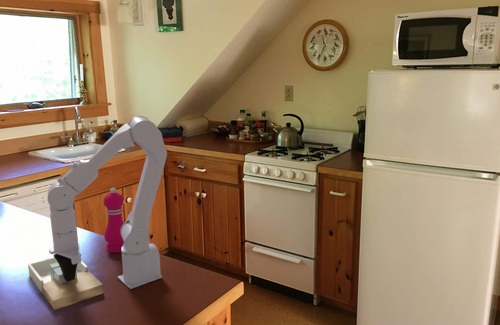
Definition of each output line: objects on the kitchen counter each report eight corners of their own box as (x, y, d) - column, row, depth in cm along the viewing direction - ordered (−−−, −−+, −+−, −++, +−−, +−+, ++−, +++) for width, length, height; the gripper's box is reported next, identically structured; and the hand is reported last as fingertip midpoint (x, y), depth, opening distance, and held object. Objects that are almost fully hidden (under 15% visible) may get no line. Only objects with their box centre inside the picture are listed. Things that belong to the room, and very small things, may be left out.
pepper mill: (120, 241, 143) (116, 183, 138) (134, 247, 139) (129, 187, 134) (100, 249, 138) (95, 188, 133) (114, 255, 133) (109, 193, 128)
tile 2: (71, 272, 118) (70, 263, 117) (77, 278, 115) (76, 269, 114) (53, 277, 115) (52, 269, 115) (59, 284, 112) (58, 275, 111)
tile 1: (71, 277, 119) (68, 274, 121) (69, 262, 118) (66, 259, 120) (53, 283, 116) (51, 279, 118) (52, 267, 115) (49, 264, 117)
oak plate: (88, 278, 120) (87, 270, 119) (103, 293, 112) (102, 284, 112) (42, 293, 112) (41, 284, 112) (54, 310, 105) (53, 300, 104)
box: (73, 262, 129) (72, 251, 128) (88, 278, 120) (87, 266, 119) (29, 275, 121) (27, 264, 120) (42, 293, 112) (40, 280, 111)
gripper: (38, 225, 112) (44, 273, 115) (57, 243, 101) (63, 296, 104) (67, 218, 116) (72, 265, 119) (87, 235, 106) (92, 286, 109)
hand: (69, 279), depth 112 cm, fingers closed
